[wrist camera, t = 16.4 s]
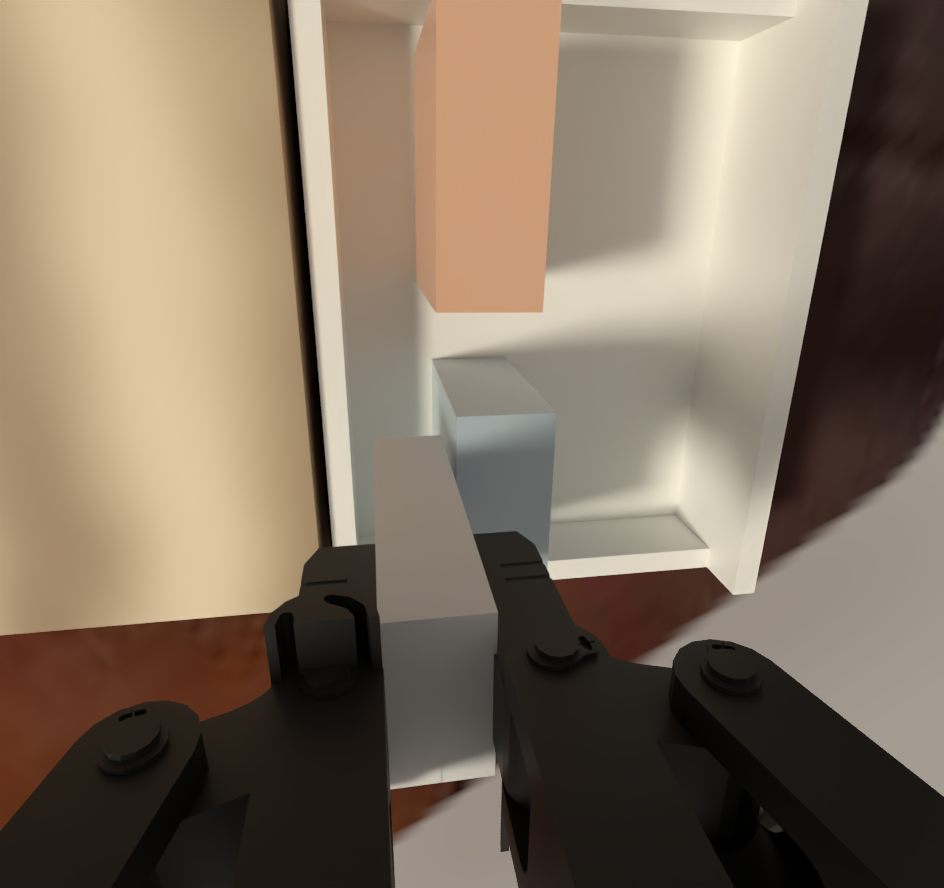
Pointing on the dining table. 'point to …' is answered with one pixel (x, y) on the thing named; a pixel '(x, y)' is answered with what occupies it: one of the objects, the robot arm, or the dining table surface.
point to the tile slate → (496, 445)
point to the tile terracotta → (484, 152)
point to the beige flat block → (152, 316)
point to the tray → (594, 263)
